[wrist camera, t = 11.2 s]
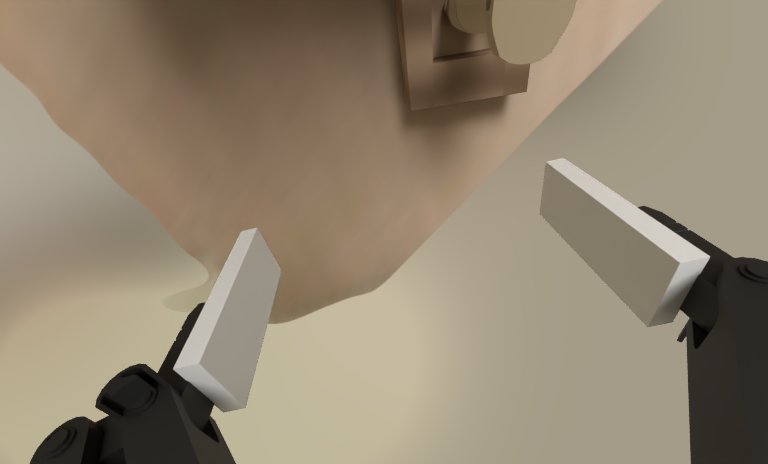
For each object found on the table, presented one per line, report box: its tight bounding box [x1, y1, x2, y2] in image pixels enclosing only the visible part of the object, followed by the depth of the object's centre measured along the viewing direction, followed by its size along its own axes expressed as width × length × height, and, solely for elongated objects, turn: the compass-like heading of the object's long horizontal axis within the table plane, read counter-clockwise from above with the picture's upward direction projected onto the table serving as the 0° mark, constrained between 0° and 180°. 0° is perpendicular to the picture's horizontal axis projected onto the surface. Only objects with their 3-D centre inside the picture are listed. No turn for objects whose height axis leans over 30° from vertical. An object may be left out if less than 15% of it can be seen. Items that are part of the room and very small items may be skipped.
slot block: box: [396, 0, 530, 111], centre depth 28 cm, size 16×12×4 cm
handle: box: [443, 0, 576, 64], centre depth 23 cm, size 5×6×15 cm
